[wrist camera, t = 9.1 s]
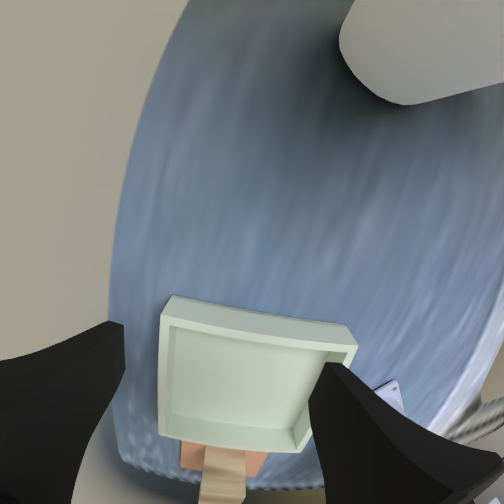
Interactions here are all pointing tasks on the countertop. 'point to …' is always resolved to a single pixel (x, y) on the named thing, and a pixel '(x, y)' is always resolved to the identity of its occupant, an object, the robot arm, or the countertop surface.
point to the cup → (424, 47)
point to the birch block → (223, 476)
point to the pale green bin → (242, 374)
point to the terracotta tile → (195, 453)
